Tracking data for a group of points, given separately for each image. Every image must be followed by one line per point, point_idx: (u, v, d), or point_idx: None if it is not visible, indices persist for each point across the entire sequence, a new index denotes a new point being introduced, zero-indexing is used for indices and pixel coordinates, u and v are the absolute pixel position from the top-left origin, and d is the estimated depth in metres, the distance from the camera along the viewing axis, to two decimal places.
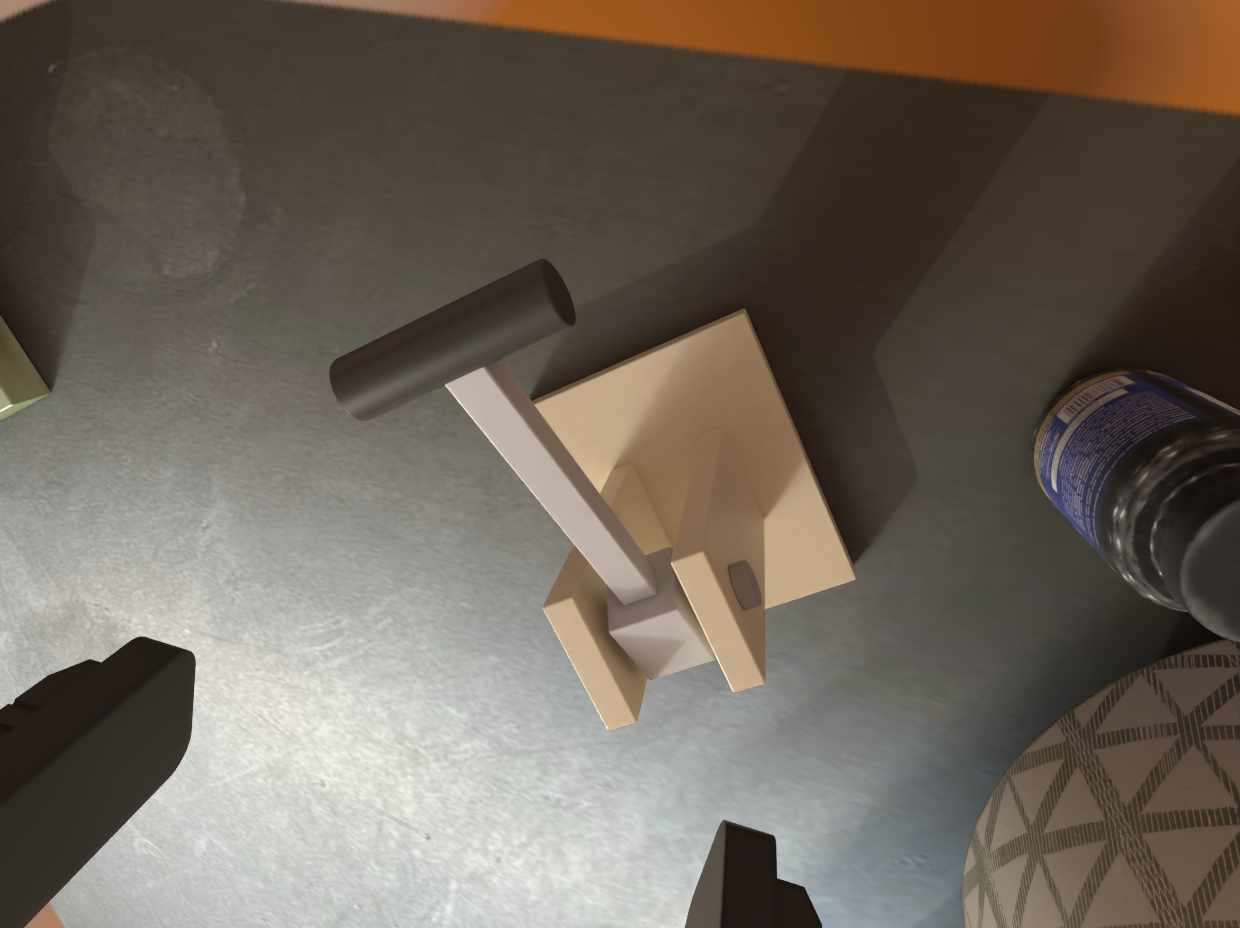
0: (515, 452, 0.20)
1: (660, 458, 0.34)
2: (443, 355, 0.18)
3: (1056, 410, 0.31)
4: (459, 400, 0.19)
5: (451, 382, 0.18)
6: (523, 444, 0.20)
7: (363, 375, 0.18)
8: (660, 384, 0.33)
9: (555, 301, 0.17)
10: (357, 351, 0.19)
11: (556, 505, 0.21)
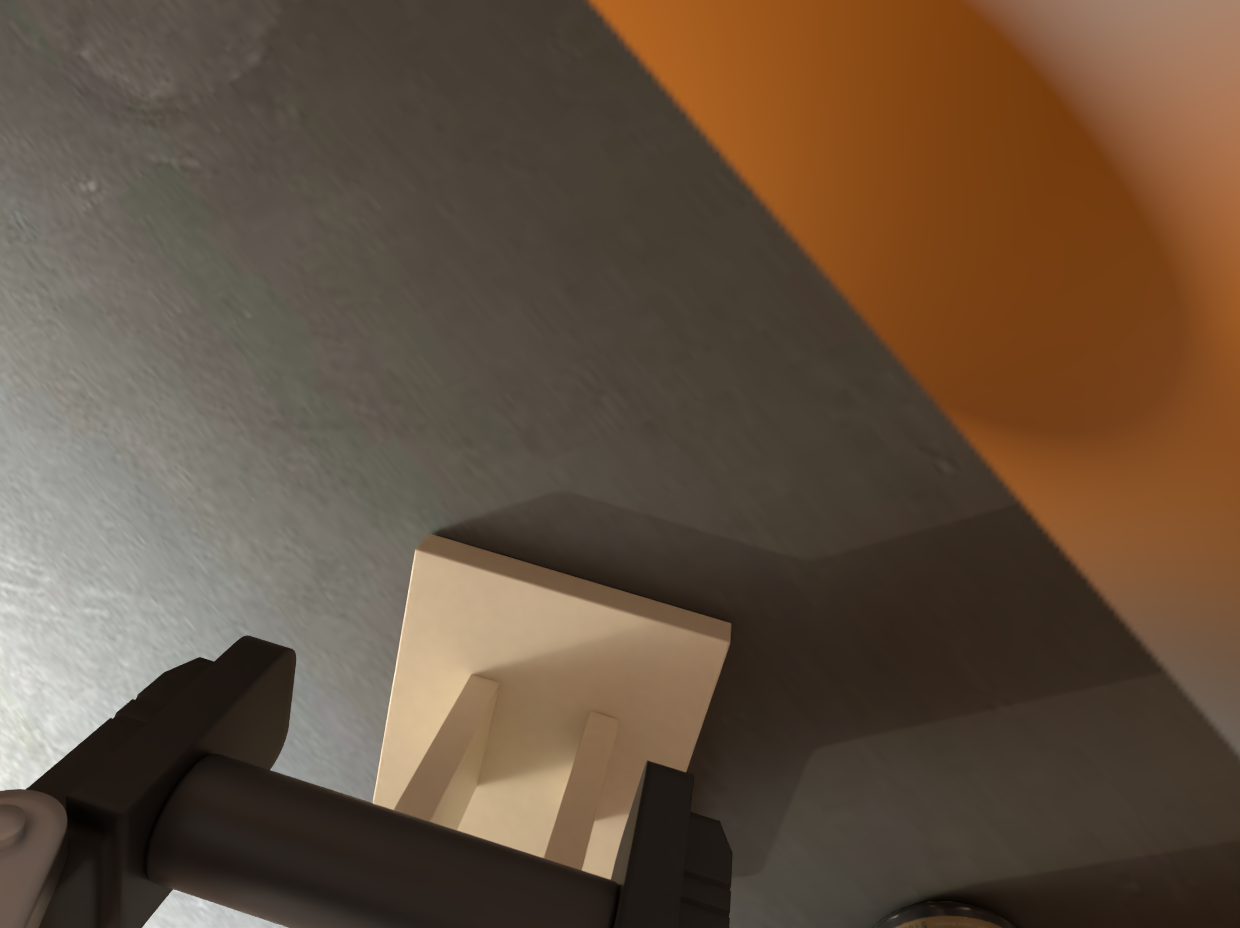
0: None
1: (532, 700, 0.27)
2: None
3: (930, 926, 0.27)
4: None
5: None
6: None
7: (214, 871, 0.10)
8: (590, 639, 0.26)
9: None
10: (232, 807, 0.10)
11: None
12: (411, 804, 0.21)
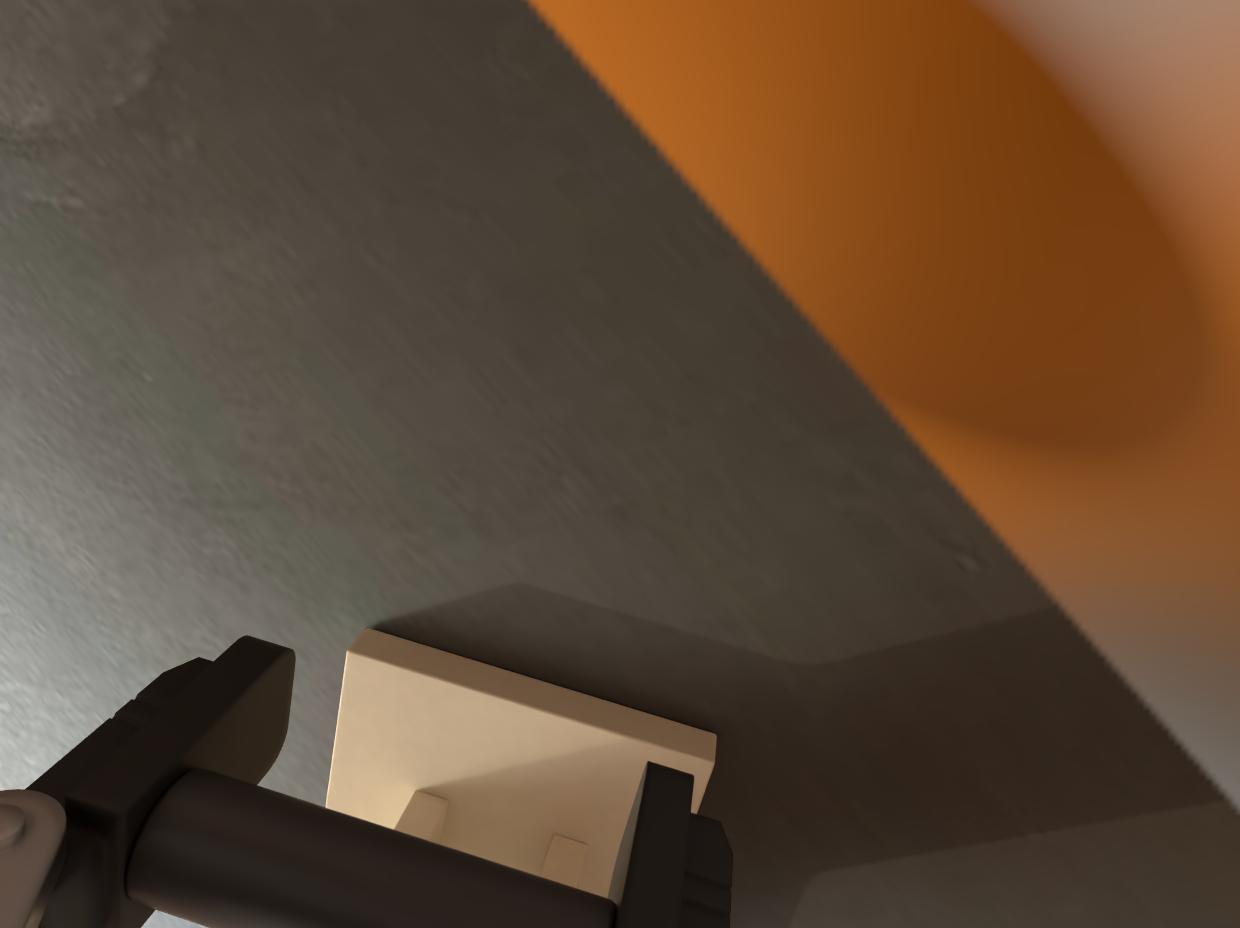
0: None
1: (486, 820, 0.23)
2: None
3: None
4: None
5: None
6: None
7: (204, 866, 0.09)
8: (551, 755, 0.22)
9: None
10: (230, 803, 0.10)
11: None
12: None
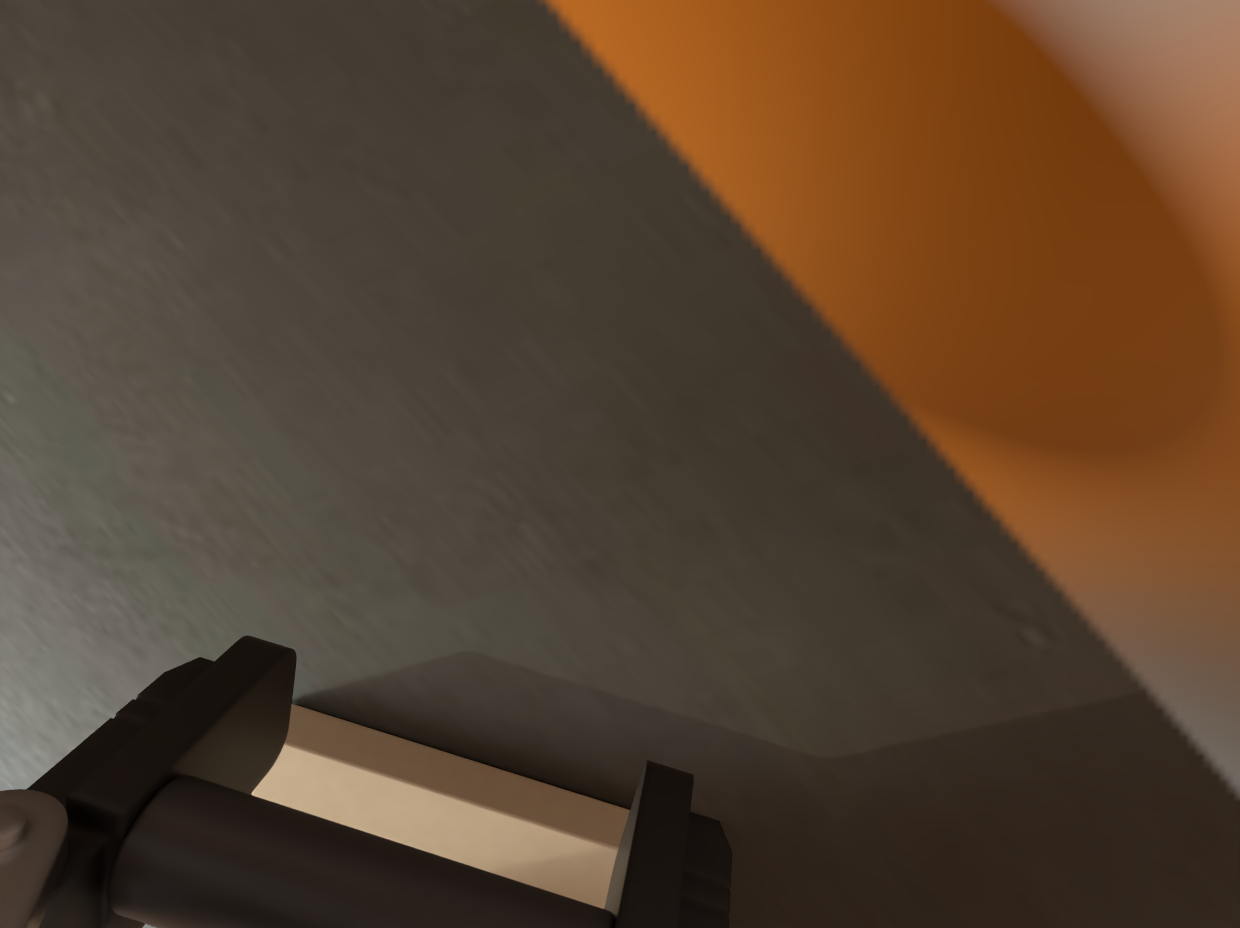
0: None
1: None
2: None
3: None
4: None
5: None
6: None
7: (201, 850, 0.09)
8: (510, 864, 0.18)
9: None
10: (230, 798, 0.10)
11: None
12: None
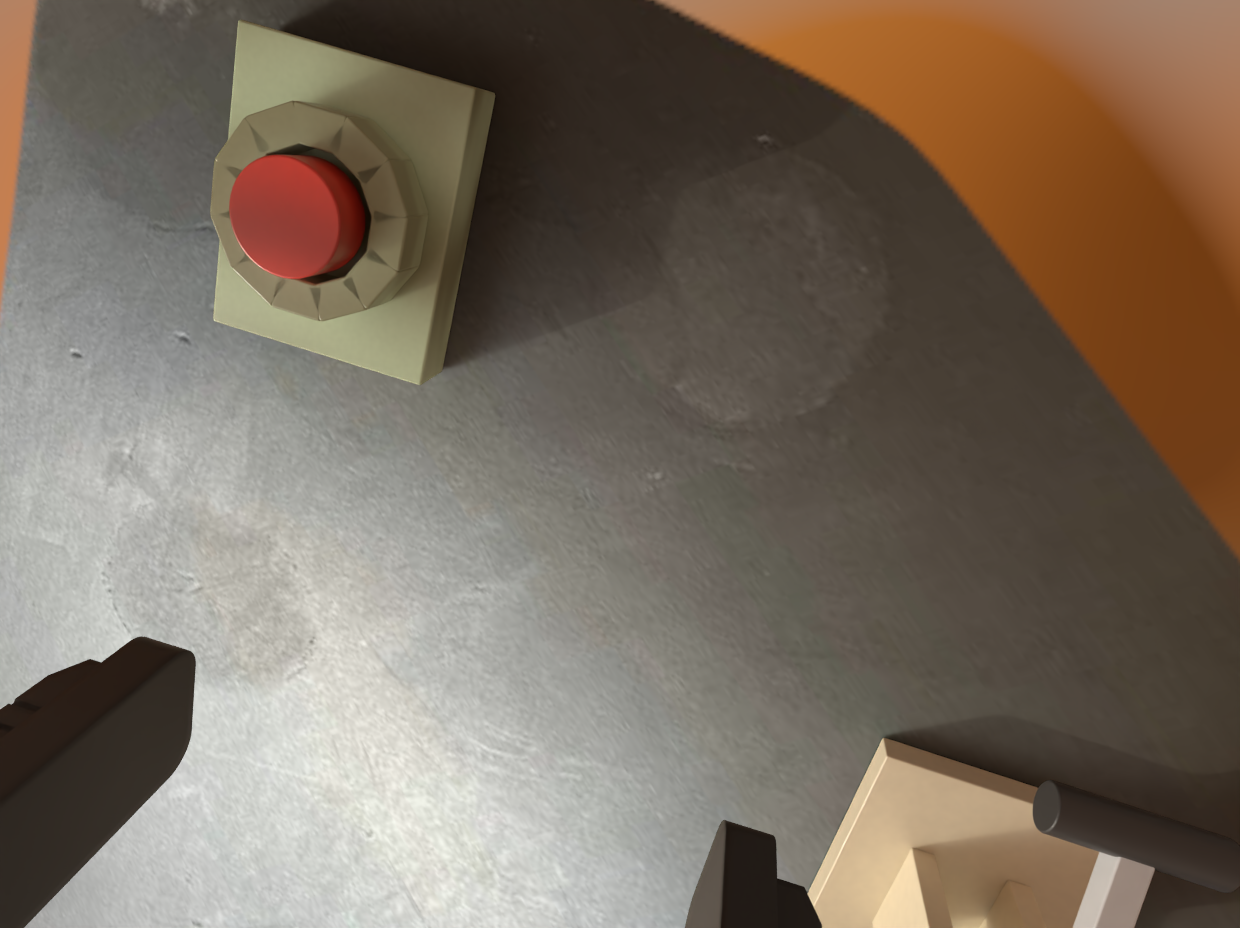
0: None
1: (959, 869, 0.34)
2: (1153, 842, 0.24)
3: None
4: (1115, 873, 0.24)
5: (1127, 859, 0.24)
6: None
7: (1089, 808, 0.24)
8: (1020, 828, 0.33)
9: None
10: (1078, 789, 0.25)
11: None
12: None
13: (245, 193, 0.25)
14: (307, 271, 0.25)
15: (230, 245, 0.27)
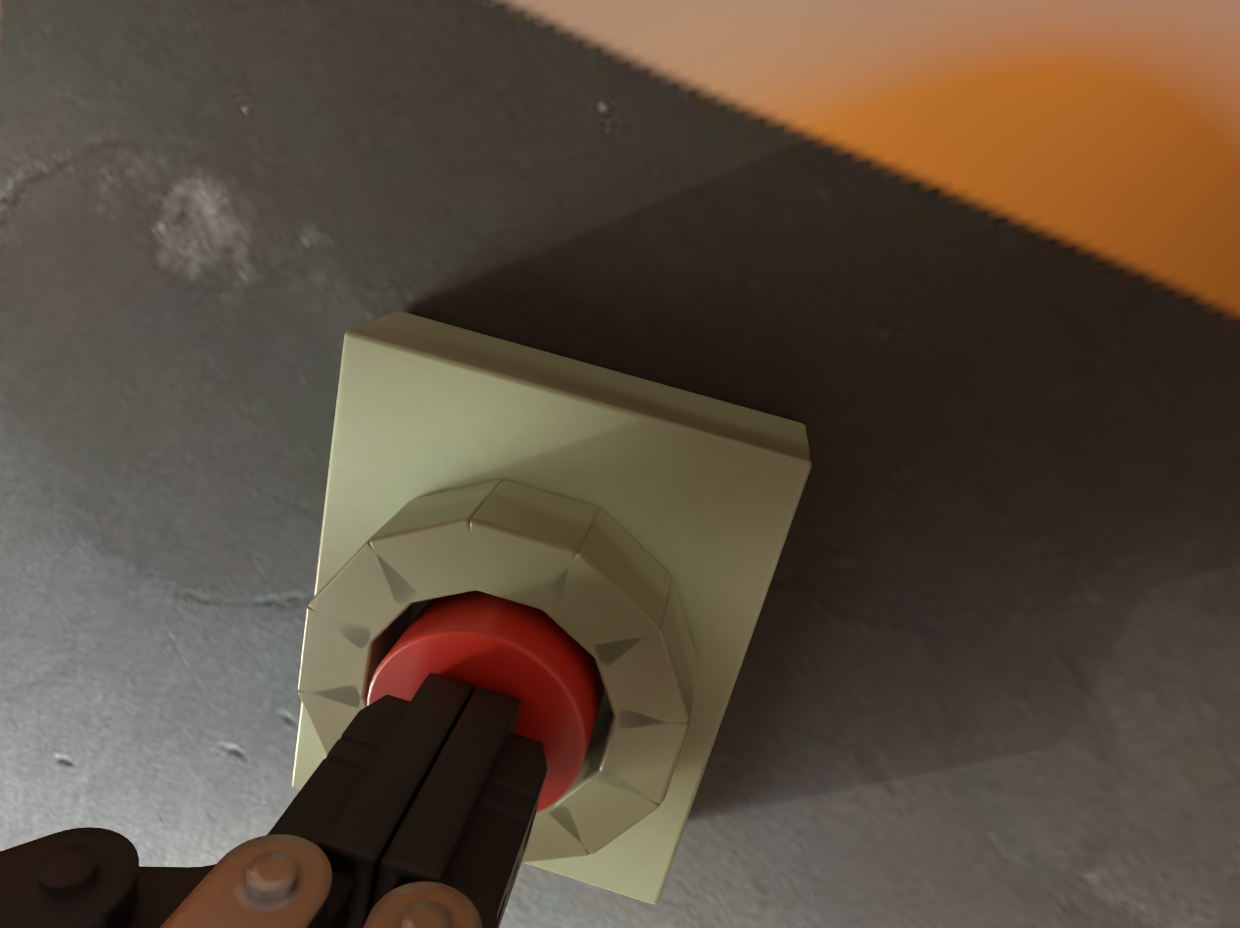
0: None
1: None
2: None
3: None
4: None
5: None
6: None
7: None
8: None
9: None
10: None
11: None
12: None
13: (399, 687, 0.13)
14: None
15: (335, 741, 0.14)
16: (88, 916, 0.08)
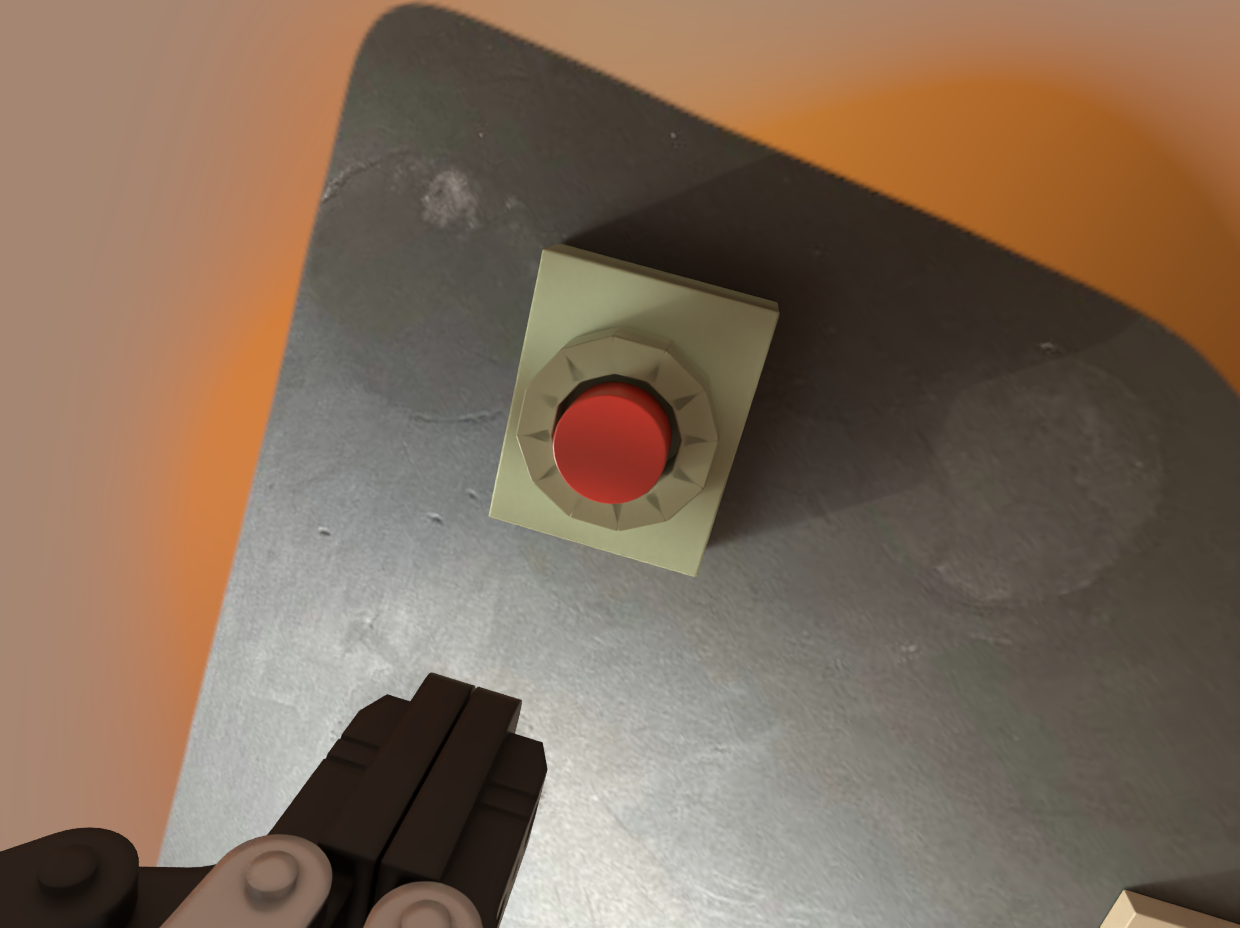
0: None
1: None
2: None
3: None
4: None
5: None
6: None
7: None
8: None
9: None
10: None
11: None
12: None
13: (571, 428, 0.26)
14: (627, 498, 0.26)
15: (533, 462, 0.28)
16: (88, 916, 0.08)
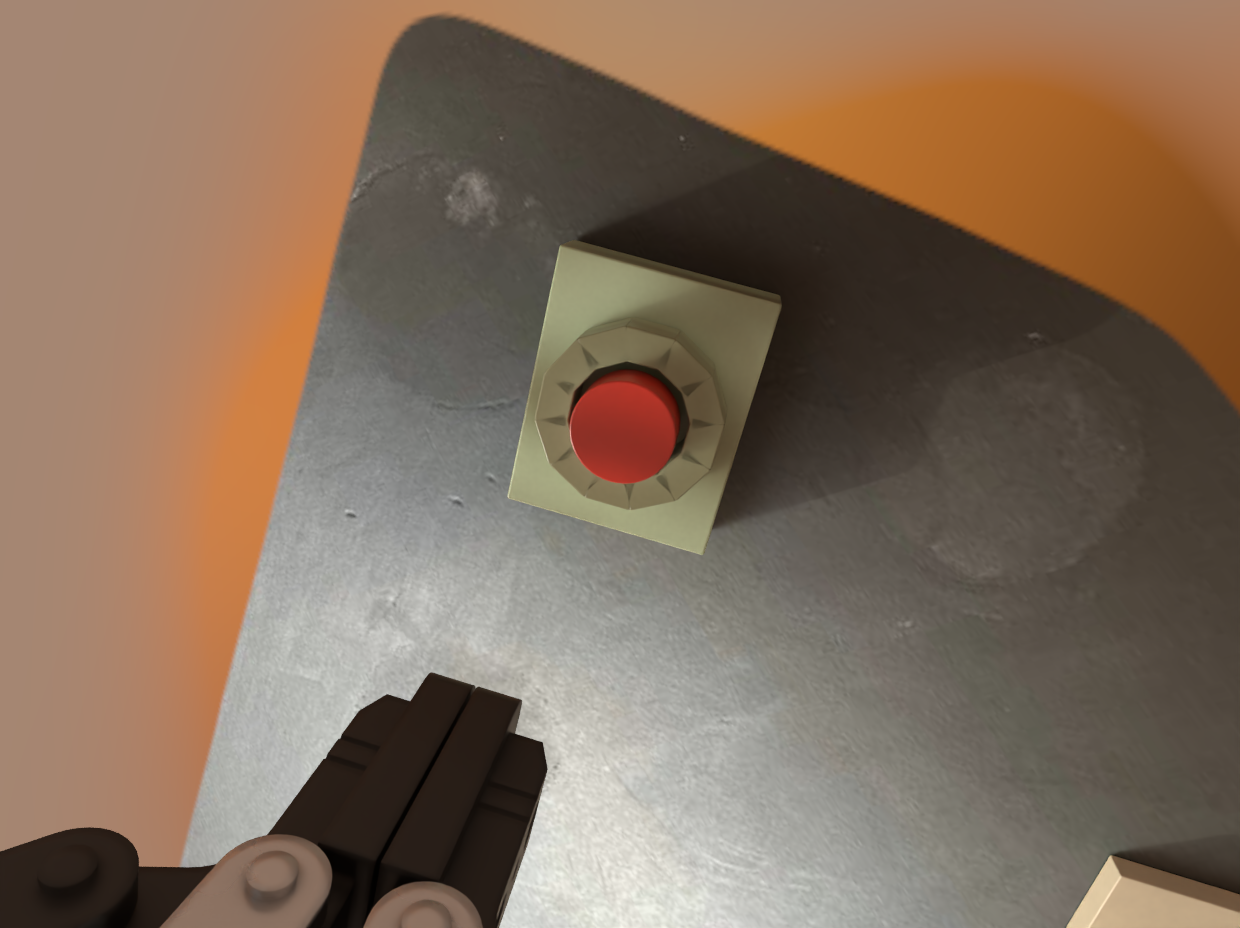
0: None
1: None
2: None
3: None
4: None
5: None
6: None
7: None
8: None
9: None
10: None
11: None
12: None
13: (587, 412, 0.28)
14: (639, 478, 0.28)
15: (551, 445, 0.30)
16: (87, 916, 0.08)
